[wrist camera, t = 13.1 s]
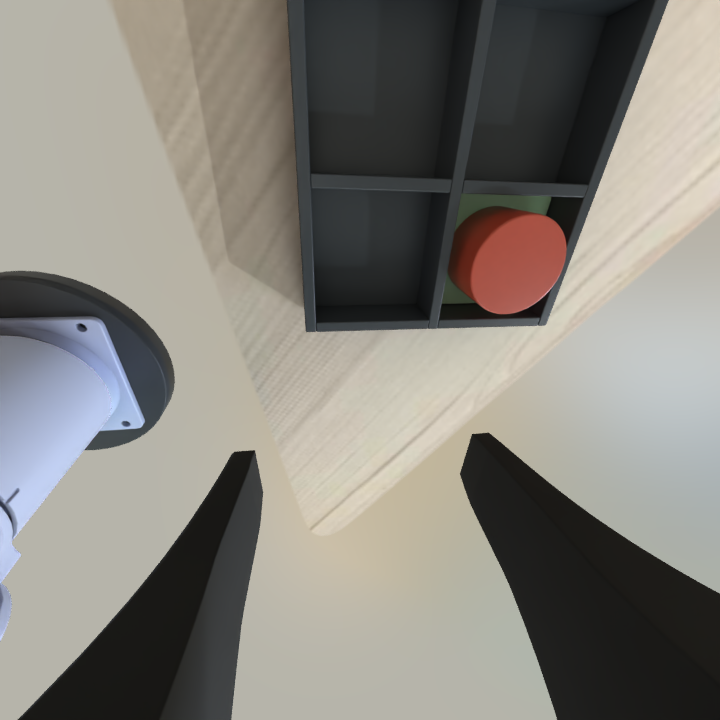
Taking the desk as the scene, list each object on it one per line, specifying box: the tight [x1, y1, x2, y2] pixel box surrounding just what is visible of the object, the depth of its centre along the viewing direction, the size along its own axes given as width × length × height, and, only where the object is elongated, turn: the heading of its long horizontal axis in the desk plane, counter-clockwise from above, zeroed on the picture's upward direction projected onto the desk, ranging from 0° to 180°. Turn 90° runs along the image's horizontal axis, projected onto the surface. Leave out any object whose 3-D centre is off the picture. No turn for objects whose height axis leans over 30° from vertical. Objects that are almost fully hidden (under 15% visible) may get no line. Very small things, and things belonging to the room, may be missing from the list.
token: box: [447, 206, 567, 314], centre depth 15 cm, size 4×4×3 cm
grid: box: [287, 0, 669, 332], centre depth 14 cm, size 13×13×3 cm
